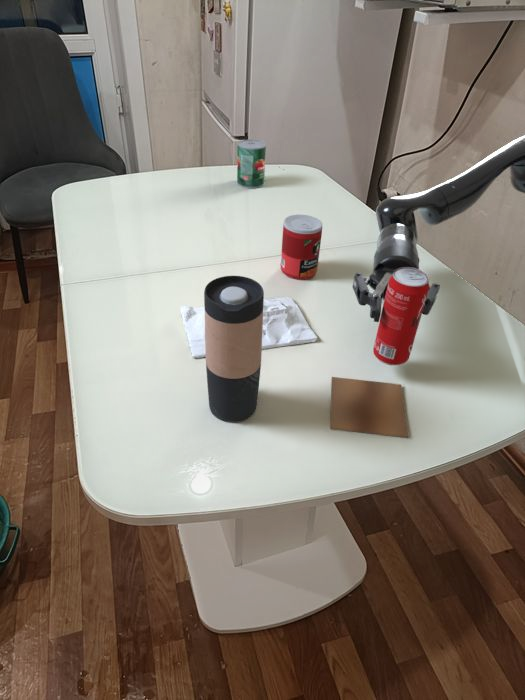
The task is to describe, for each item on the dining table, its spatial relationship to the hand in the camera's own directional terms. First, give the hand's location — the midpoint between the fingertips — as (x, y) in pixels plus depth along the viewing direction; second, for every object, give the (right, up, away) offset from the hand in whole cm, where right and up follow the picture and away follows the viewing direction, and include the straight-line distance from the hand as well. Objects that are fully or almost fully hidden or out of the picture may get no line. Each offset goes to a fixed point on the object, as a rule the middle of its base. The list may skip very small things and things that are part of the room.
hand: (394, 319), depth 75 cm
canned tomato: (-23, +43, +72) cm, 87 cm away
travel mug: (-24, -13, +1) cm, 27 cm away
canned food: (-12, +12, +34) cm, 38 cm away
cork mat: (-4, -13, +2) cm, 14 cm away
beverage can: (+1, -5, +7) cm, 9 cm away
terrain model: (-22, 0, +17) cm, 28 cm away
